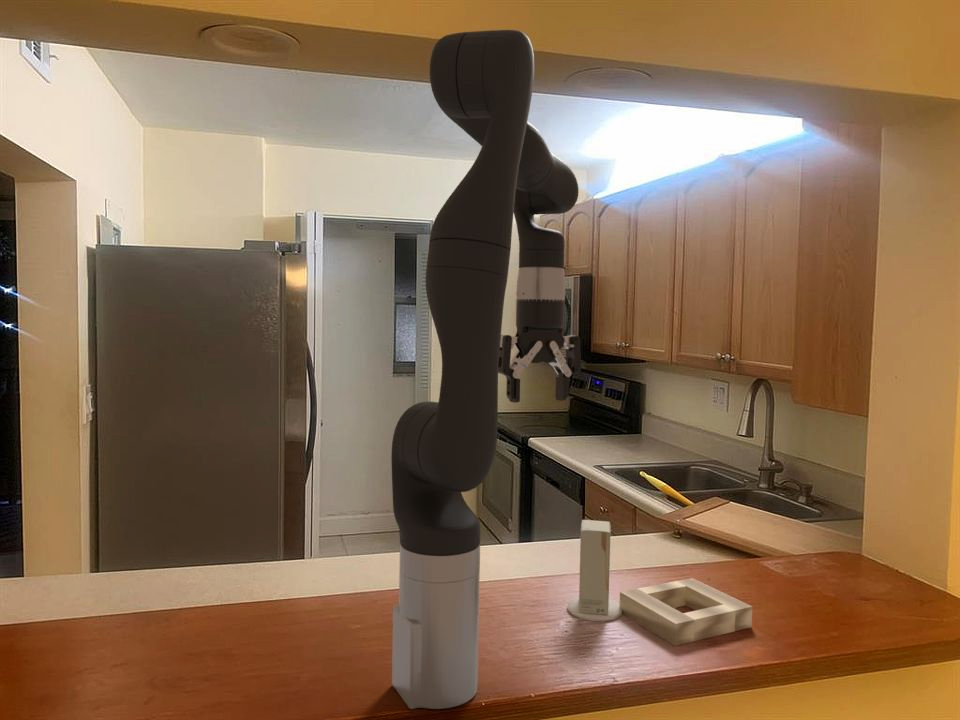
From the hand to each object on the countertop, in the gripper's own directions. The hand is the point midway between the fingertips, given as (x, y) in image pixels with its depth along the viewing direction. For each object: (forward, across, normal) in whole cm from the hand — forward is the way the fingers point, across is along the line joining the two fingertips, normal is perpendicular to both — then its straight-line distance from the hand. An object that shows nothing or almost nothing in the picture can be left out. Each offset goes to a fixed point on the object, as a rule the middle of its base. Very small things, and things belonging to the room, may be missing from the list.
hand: (538, 401), depth 112 cm
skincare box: (+30, +4, -11) cm, 32 cm away
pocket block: (+30, +14, -19) cm, 38 cm away
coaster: (+30, +4, -11) cm, 32 cm away
